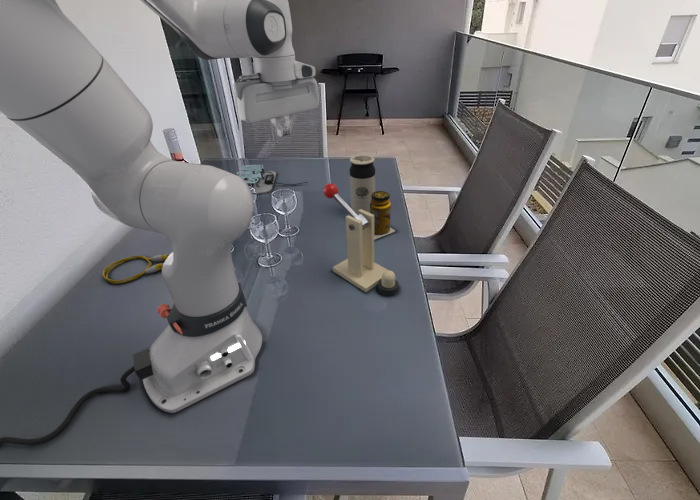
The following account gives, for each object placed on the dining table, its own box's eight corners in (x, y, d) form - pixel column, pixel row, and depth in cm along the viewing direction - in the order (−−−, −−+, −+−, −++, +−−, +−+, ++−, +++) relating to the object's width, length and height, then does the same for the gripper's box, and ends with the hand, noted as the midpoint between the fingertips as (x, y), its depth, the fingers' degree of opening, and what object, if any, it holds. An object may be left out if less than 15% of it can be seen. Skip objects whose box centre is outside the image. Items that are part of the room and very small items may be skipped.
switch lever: (318, 193, 85) (322, 183, 82) (330, 188, 87) (333, 178, 84) (356, 234, 81) (360, 224, 78) (367, 228, 83) (371, 219, 80)
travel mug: (355, 204, 121) (354, 153, 110) (377, 207, 118) (378, 155, 108) (347, 215, 114) (345, 162, 104) (371, 218, 112) (371, 164, 102)
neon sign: (306, 180, 128) (226, 184, 128) (307, 191, 131) (229, 195, 130) (309, 160, 146) (239, 163, 145) (310, 169, 148) (241, 173, 148)
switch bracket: (332, 271, 90) (327, 214, 81) (357, 256, 95) (355, 201, 86) (366, 292, 83) (365, 232, 73) (390, 275, 88) (392, 217, 78)
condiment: (395, 231, 105) (397, 195, 98) (373, 240, 101) (373, 203, 95) (381, 221, 110) (381, 186, 103) (359, 230, 106) (358, 194, 100)
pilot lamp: (389, 299, 81) (389, 281, 78) (373, 289, 84) (373, 272, 81) (402, 289, 84) (403, 271, 80) (387, 280, 86) (387, 262, 83)
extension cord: (147, 287, 88) (144, 281, 87) (93, 282, 90) (90, 276, 89) (175, 259, 98) (173, 253, 96) (126, 255, 100) (123, 249, 99)
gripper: (240, 77, 68) (253, 148, 76) (320, 67, 80) (325, 129, 87) (225, 75, 72) (239, 142, 80) (304, 65, 84) (309, 125, 91)
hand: (284, 135), depth 84 cm, fingers closed
